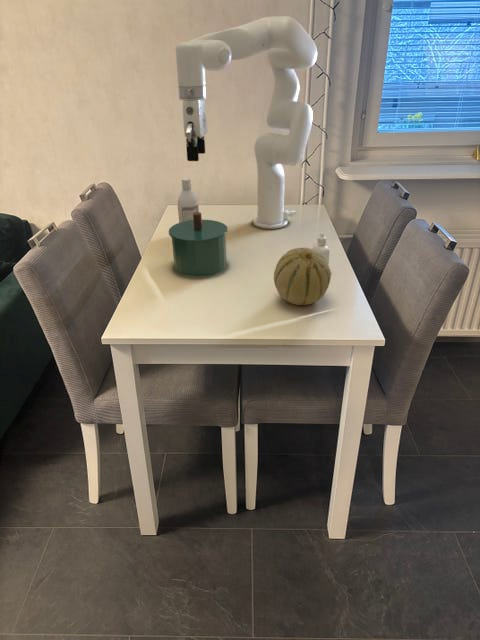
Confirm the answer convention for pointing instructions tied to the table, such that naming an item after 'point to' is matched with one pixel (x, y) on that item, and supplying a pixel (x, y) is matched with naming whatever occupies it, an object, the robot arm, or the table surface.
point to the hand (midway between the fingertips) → (196, 157)
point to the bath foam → (187, 202)
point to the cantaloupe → (302, 276)
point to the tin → (199, 257)
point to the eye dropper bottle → (322, 247)
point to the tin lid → (198, 230)
